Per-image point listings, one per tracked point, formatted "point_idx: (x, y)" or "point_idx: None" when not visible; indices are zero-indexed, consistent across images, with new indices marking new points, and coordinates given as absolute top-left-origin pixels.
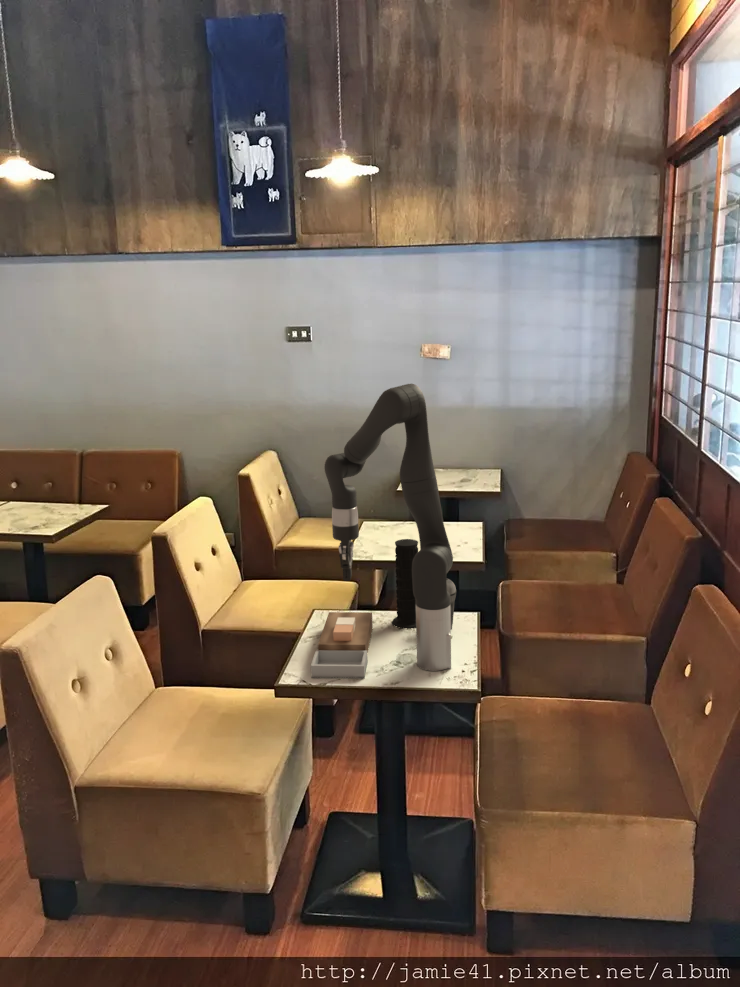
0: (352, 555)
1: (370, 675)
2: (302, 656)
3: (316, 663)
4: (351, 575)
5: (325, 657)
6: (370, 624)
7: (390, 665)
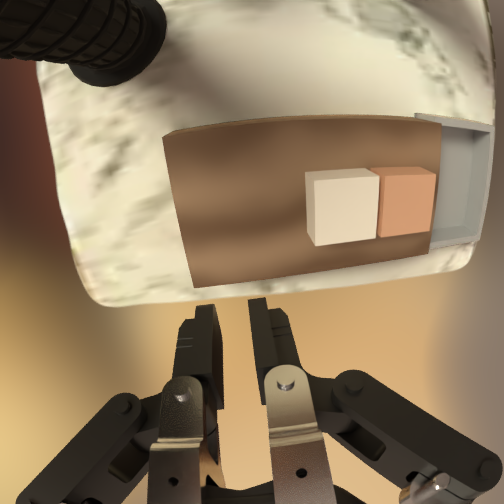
0: (202, 467)
1: (464, 107)
2: (377, 273)
3: (450, 232)
4: (207, 312)
5: None
6: (250, 122)
7: (423, 57)
